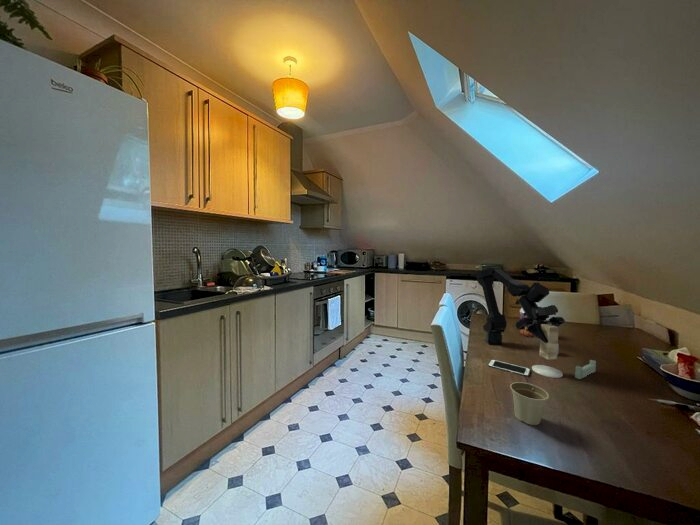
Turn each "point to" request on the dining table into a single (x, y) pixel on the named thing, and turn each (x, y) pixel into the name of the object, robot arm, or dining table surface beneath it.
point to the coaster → (547, 371)
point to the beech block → (549, 341)
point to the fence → (585, 370)
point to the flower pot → (528, 402)
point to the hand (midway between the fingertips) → (551, 342)
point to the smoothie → (524, 332)
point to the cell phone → (509, 368)
